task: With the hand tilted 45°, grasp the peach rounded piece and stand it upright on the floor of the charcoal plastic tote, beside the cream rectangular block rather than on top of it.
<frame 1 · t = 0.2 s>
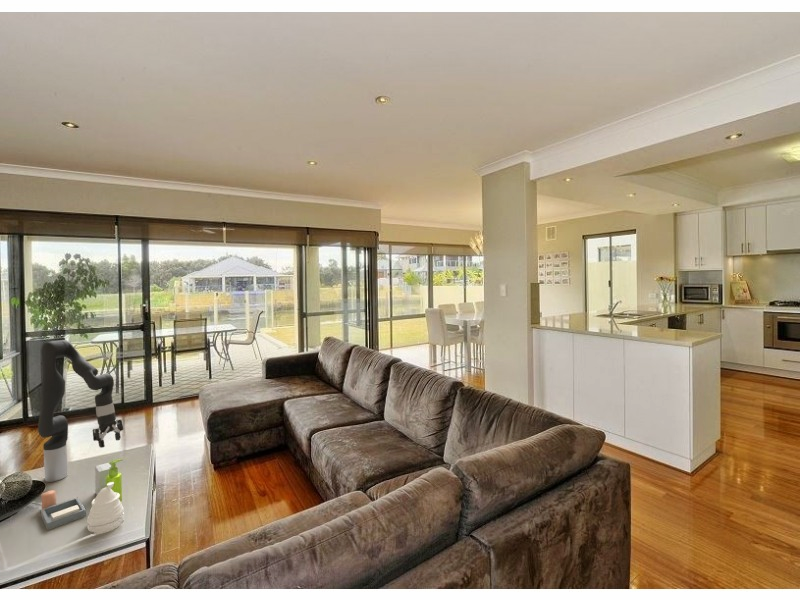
hand: (110, 443, 200), 22 cm above the table, tool pointing down, fingers open, 8 cm apart
cream rectangular block: (65, 519, 171), point 1 cm above the table, touching tote
soap dispenser: (115, 501, 187), on the table
skincare box: (104, 495, 192), on the table
tote: (63, 518, 174), on the table
honey pot: (106, 525, 170), on the table
peach rounded piece: (49, 509, 180), on the table
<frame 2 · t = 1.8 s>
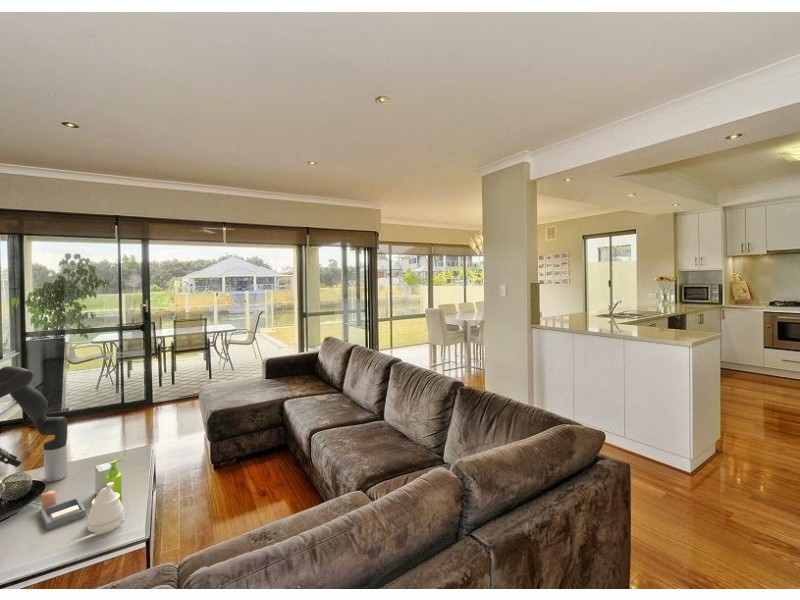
hand: (17, 462, 170), 27 cm above the table, tool tilted 45°, fingers open, 8 cm apart
nothing on the table moved.
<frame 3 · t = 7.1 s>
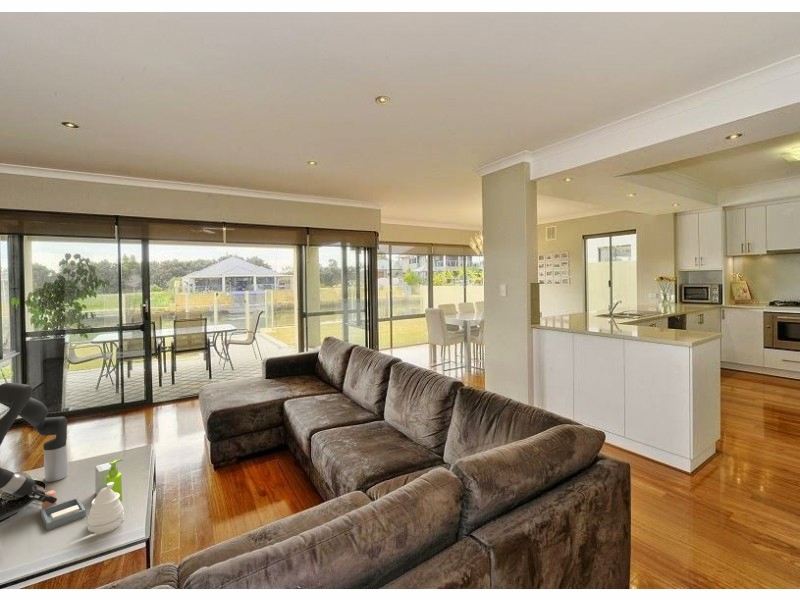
hand: (54, 498, 181), 4 cm above the table, tool tilted 45°, fingers closed on peach rounded piece, 5 cm apart
peach rounded piece: (49, 509, 180), on the table, touching gripper
everything else where it was.
when the fingers open (7 cm above the table, at t = 14.2 s): peach rounded piece stays where it is, resting on tote.
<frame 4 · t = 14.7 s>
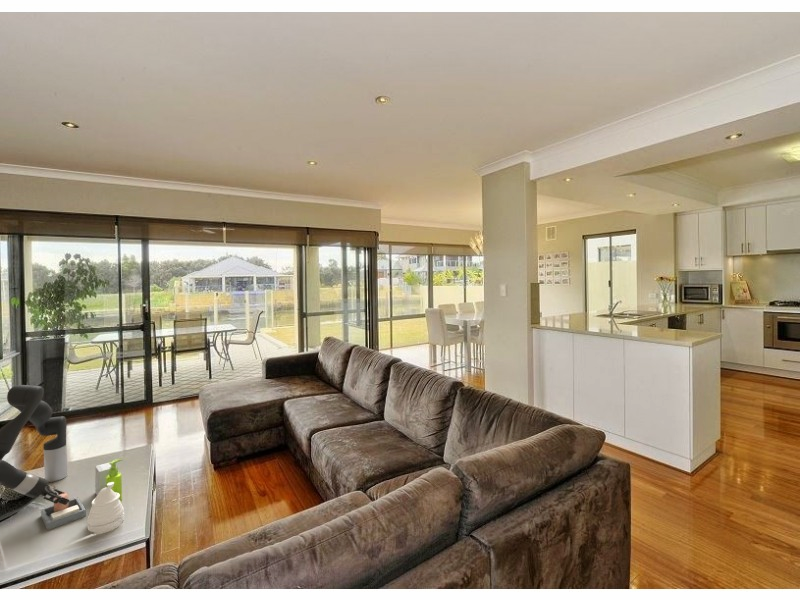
hand: (65, 498, 177), 7 cm above the table, tool tilted 45°, fingers open, 8 cm apart
peach rounded piece: (61, 513, 176), point 1 cm above the table, touching tote
everything else where it was.
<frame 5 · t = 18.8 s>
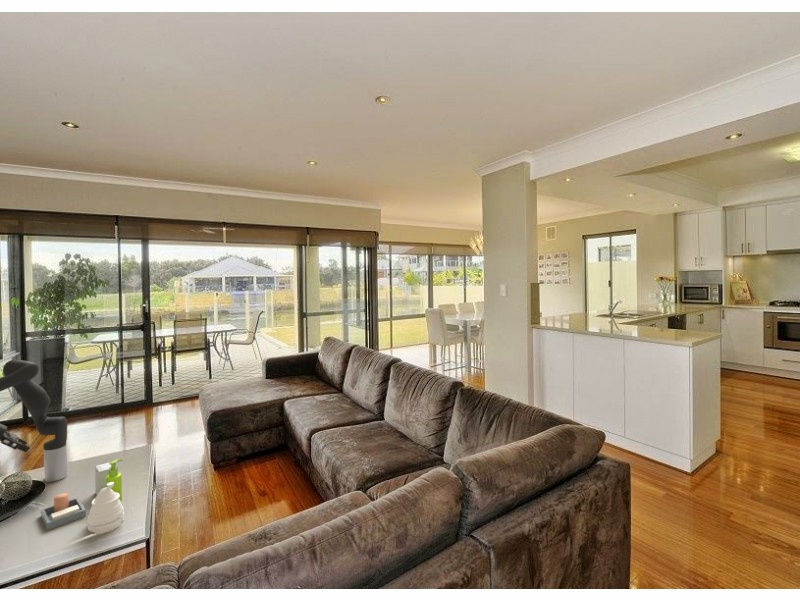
hand: (26, 447, 172), 33 cm above the table, tool tilted 45°, fingers open, 8 cm apart
nothing on the table moved.
at the end: peach rounded piece inside the target area on the tote (0.9 cm from its centre), point 1.1 cm above the tote's base; peach rounded piece tilted 2°; cream rectangular block moved 0.0 cm from its start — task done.
